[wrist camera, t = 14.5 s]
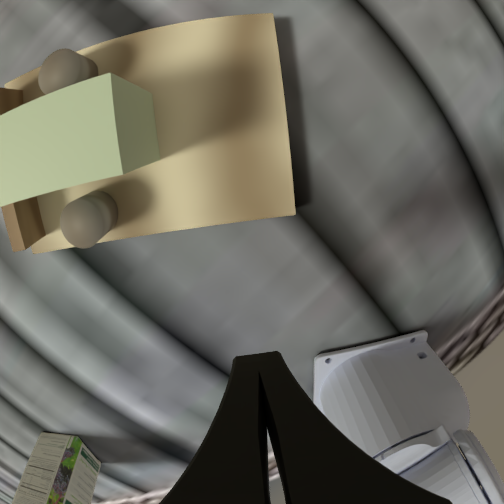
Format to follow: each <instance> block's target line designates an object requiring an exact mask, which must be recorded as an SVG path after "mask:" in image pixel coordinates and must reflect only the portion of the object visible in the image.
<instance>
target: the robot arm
mask: <svg viewBox="0 0 504 504" xmlns="http://www.w3.org/2000/svg"><path fill="white" fill-rule="evenodd" d="M427 337H428V333H427V332H426V331H425V330H421V331H418V332H414V333H410V334H407V335H403V336H399V337H395V338H391V339H387V340H383V341H379V342H375V343H371V344H366V345H362V346H357V347H353V348H348V349H343V350H339V351H334V352H329V353H323V354H319V355H317V356H316V357H315V358H314V396H313V402H312V400H311V399H310V398H309V397H308V395H307V394H306V393H305V391H304V390H303V389H302V388H301V386H300V385H299V384H298V382H297V381H296V379H295V378H294V376H293V375H292V373H291V372H290V370H289V368H288V367H287V365H286V363H285V361H284V359H283V357H282V355H281V353H279V352H278V351H273V352H266V353H259V354H252V355H244V356H236V357H235V358H234V359H233V364H232V369H231V373H230V377H229V381H228V384H227V387H226V390H225V393H224V395H223V398H222V401H221V403H220V406H219V409H218V411H217V413H216V416H215V418H214V420H213V422H212V424H211V426H210V428H209V430H208V433H207V435H206V436H205V438H204V440H203V442H202V444H201V446H200V447H199V449H198V451H197V453H196V454H195V456H194V457H193V459H192V461H191V462H190V464H189V465H188V467H187V468H186V470H185V471H184V473H183V474H182V475H181V477H180V478H179V480H178V481H177V482H176V484H175V485H174V486H173V488H172V489H171V490H170V492H169V493H168V494H167V495H166V496H165V497H164V499H163V500H162V501H161V502H160V503H159V504H271V502H270V493H269V474H268V445H267V429H268V433H269V437H270V440H271V444H272V448H273V452H274V456H275V459H276V463H277V467H278V471H279V474H280V478H281V482H282V486H283V491H284V495H285V501H286V504H504V484H503V481H502V479H501V477H500V475H499V474H498V472H497V470H496V468H495V466H494V464H493V463H492V461H491V459H490V458H489V456H488V454H487V453H486V451H485V450H484V448H483V447H482V445H481V444H480V442H479V441H478V439H477V438H476V437H475V435H474V434H473V433H472V432H471V431H468V430H467V429H468V425H469V419H470V410H469V405H468V401H467V397H466V395H465V392H464V390H463V388H462V386H460V384H459V382H458V381H457V380H456V378H455V377H454V376H453V374H452V373H451V372H450V371H449V369H448V368H447V367H446V366H445V364H444V363H443V362H442V361H441V359H440V358H439V357H438V356H437V354H436V353H435V352H434V351H433V349H432V348H431V347H430V346H429V345H428V343H427V342H426V341H427ZM412 338H413V339H412ZM411 339H412V340H411ZM328 358H330V359H329V360H326V359H328ZM457 442H458V444H459V448H460V450H461V451H462V453H463V455H464V457H465V458H466V460H465V459H464V457H463V456H462V454H461V452H460V451H459V449H458V447H457V446H456V443H457ZM480 485H481V486H482V489H481V487H480Z"/></svg>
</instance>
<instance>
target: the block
mask: <svg viewBox="0 0 504 504" xmlns="http://www.w3.org/2000/svg"><path fill="white" fill-rule="evenodd" d="M159 160H161V159H160V152H159V145H158V138H157V130H156V122H155V114H154V106H153V97H152V93H150V92H148V91H146V90H144V89H142V88H141V87H139V86H137V85H135V84H133V83H131V82H129V81H127V80H125V79H123V78H121V77H119V76H117V75H115V74H113V73H111V72H110V73H107V74H104V75H100V76H97V77H94V78H91V79H88V80H85V81H82V82H79V83H76V84H73V85H70V86H67V87H65V88H62V89H59V90H57V91H54V92H52V93H49V94H47V95H44V96H42V97H39V98H37V99H35V100H32V101H30V102H28V103H26V104H23V105H21V106H19V107H17V108H15V109H13V110H11V111H8V112H6V113H4V114H2V115H0V207H2V206H5V205H8V204H11V203H14V202H18V201H21V200H24V199H28V198H31V197H35V196H38V195H42V194H45V193H49V192H52V191H56V190H60V189H64V188H68V187H72V186H76V185H80V184H84V183H88V182H92V181H97V180H101V179H105V178H110V177H115V176H119V175H124V174H126V173H128V172H131V171H133V170H136V169H138V168H141V167H143V166H146V165H148V164H151V163H154V162H156V161H159Z"/></svg>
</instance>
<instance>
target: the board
mask: <svg viewBox="0 0 504 504" xmlns="http://www.w3.org/2000/svg"><path fill="white" fill-rule="evenodd" d="M110 72H111V73H113V74H115V75H117V76H119V77H121V78H123V79H125V80H127V81H129V82H131V83H133V84H135V85H137V86H139V87H141V88H142V89H144V90H146V91H148V92H150V93H152V97H153V106H154V114H155V122H156V130H157V138H158V145H159V152H160V159H161V160H159V161H156V162H154V163H151V164H148V165H146V166H143V167H141V168H138V169H136V170H133V171H131V172H128V173H126V174H124V175H119V176H115V177H110V178H105V179H101V180H97V181H92V182H88V183H84V184H80V185H76V186H72V187H68V188H64V189H60V190H56V191H52V192H49V193H45V194H42V195H38V196H35V197H31V198H28V199H24V200H21V201H18V202H14V203H11V204H8V205H5V206H2V207H1V208H2V212H3V216H4V220H5V224H6V228H7V231H8V235H9V239H10V242H11V246H12V249H13V252H16V251H21V250H26V249H27V248H28V247H30V246H31V249H32V252H33V254H37V253H43V252H48V251H53V250H59V249H65V248H70V247H78V248H89V247H92V246H93V245H95V244H96V243H100V242H106V241H112V240H118V239H124V238H130V237H137V236H143V235H150V234H156V233H163V232H169V231H176V230H183V229H190V228H197V227H204V226H211V225H219V224H226V223H234V222H241V221H249V220H257V219H265V218H273V217H281V216H289V215H296V213H295V200H294V188H293V177H292V166H291V155H290V145H289V135H288V125H287V116H286V107H285V99H284V90H283V82H282V74H281V66H280V59H279V51H278V44H277V37H276V30H275V24H274V17H273V13H267V14H249V15H236V16H226V17H217V18H209V19H202V20H195V21H189V22H183V23H178V24H173V25H168V26H163V27H158V28H154V29H149V30H145V31H141V32H137V33H133V34H130V35H126V36H122V37H119V38H116V39H112V40H109V41H106V42H103V43H100V44H97V45H94V46H91V47H88V48H85V49H82V50H79V51H77V52H74V51H72V50H70V49H60V50H57V51H55V52H53V53H52V54H51V55H49V56H48V57H47V58H46V60H45V61H44V62H43V64H42V66H40V67H38V68H36V69H34V70H32V71H30V72H28V73H26V74H24V75H22V76H20V77H18V78H16V79H14V80H12V81H10V82H8V83H6V84H5V88H0V115H2V114H4V113H6V112H8V111H11V110H13V109H15V108H17V107H19V106H21V105H23V104H26V103H28V102H30V101H32V100H35V99H37V98H39V97H42V96H44V95H47V94H49V93H52V92H54V91H57V90H59V89H62V88H65V87H67V86H70V85H73V84H76V83H79V82H82V81H85V80H88V79H91V78H94V77H97V76H100V75H104V74H107V73H110Z"/></svg>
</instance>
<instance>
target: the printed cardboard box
mask: <svg viewBox="0 0 504 504" xmlns="http://www.w3.org/2000/svg"><path fill="white" fill-rule="evenodd" d="M100 466H101V462H100V461H99V460H97V459H96V458H95V456H94V455H93V454H92V453H91V452H90V451H89V449H88V448H87V447H86V446H85V445H84V444H83V442H82V441H81V440H80V438H79V437H78V436H73V435H63V434H55V433H45V432H41V434H40V436H39V438H38V440H37V442H36V445H35V447H34V449H33V452H32V454H31V456H30V458H29V461H28V463H27V466H26V468H25V470H24V473H23V475H22V478H21V480H20V483H19V486H18V488H17V491H16V494H15V496H14V499H13V502H12V504H91V500H92V496H93V492H94V488H95V484H96V481H97V477H98V474H99V470H100Z"/></svg>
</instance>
